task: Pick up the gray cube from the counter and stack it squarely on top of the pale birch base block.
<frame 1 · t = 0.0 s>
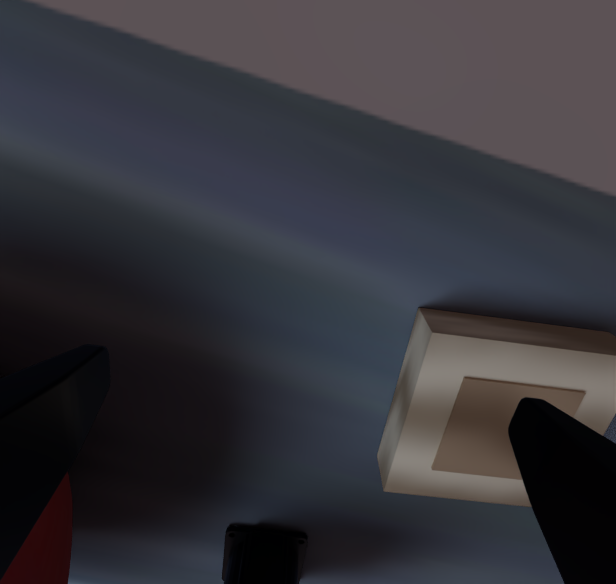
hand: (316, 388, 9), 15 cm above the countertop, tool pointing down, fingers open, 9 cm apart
birch base: (484, 398, 27), on the countertop
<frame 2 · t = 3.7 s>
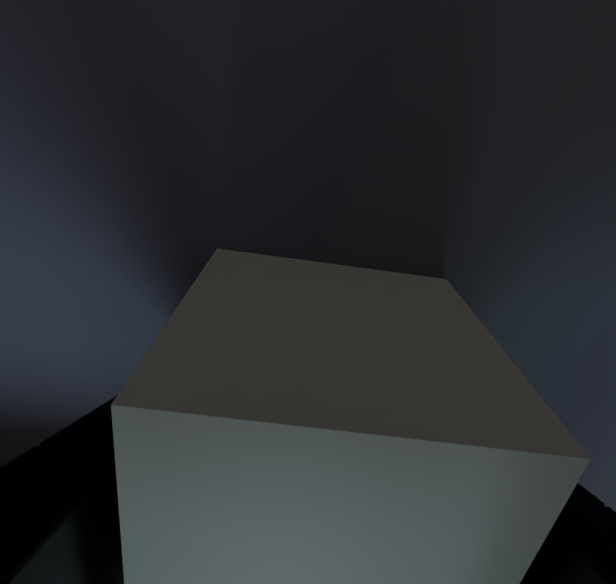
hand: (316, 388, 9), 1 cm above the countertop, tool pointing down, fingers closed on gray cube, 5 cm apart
gray cube: (316, 360, 10), on the countertop, touching gripper
when the fingers open (5 cm above the countertop, at t = 7.7 s): gray cube drops 1 cm, resting on birch base.
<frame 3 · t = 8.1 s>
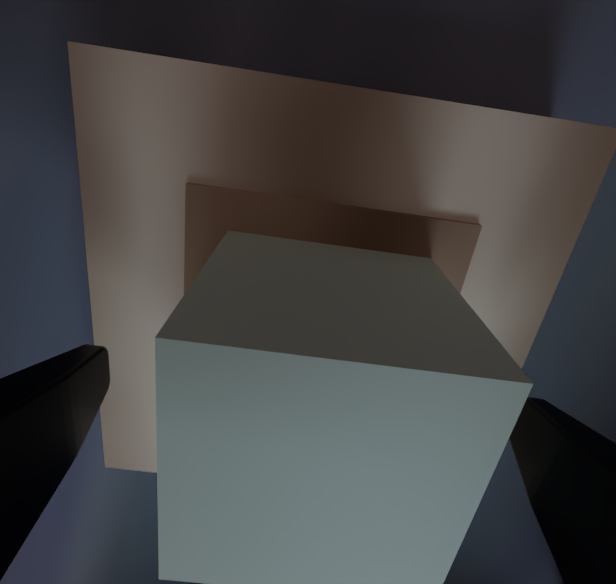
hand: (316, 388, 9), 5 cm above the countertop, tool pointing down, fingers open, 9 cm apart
birch base: (313, 286, 14), on the countertop
gray cube: (315, 333, 11), point 3 cm above the countertop, touching birch base
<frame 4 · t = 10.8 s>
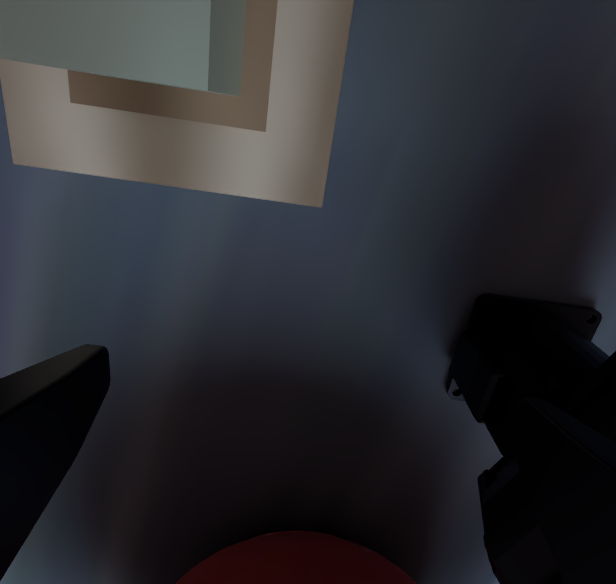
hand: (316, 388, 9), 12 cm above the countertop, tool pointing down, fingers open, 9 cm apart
birch base: (194, 21, 16), on the countertop
gray cube: (169, 0, 13), point 3 cm above the countertop, touching birch base
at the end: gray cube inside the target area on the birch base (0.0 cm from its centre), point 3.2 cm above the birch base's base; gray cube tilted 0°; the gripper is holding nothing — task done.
